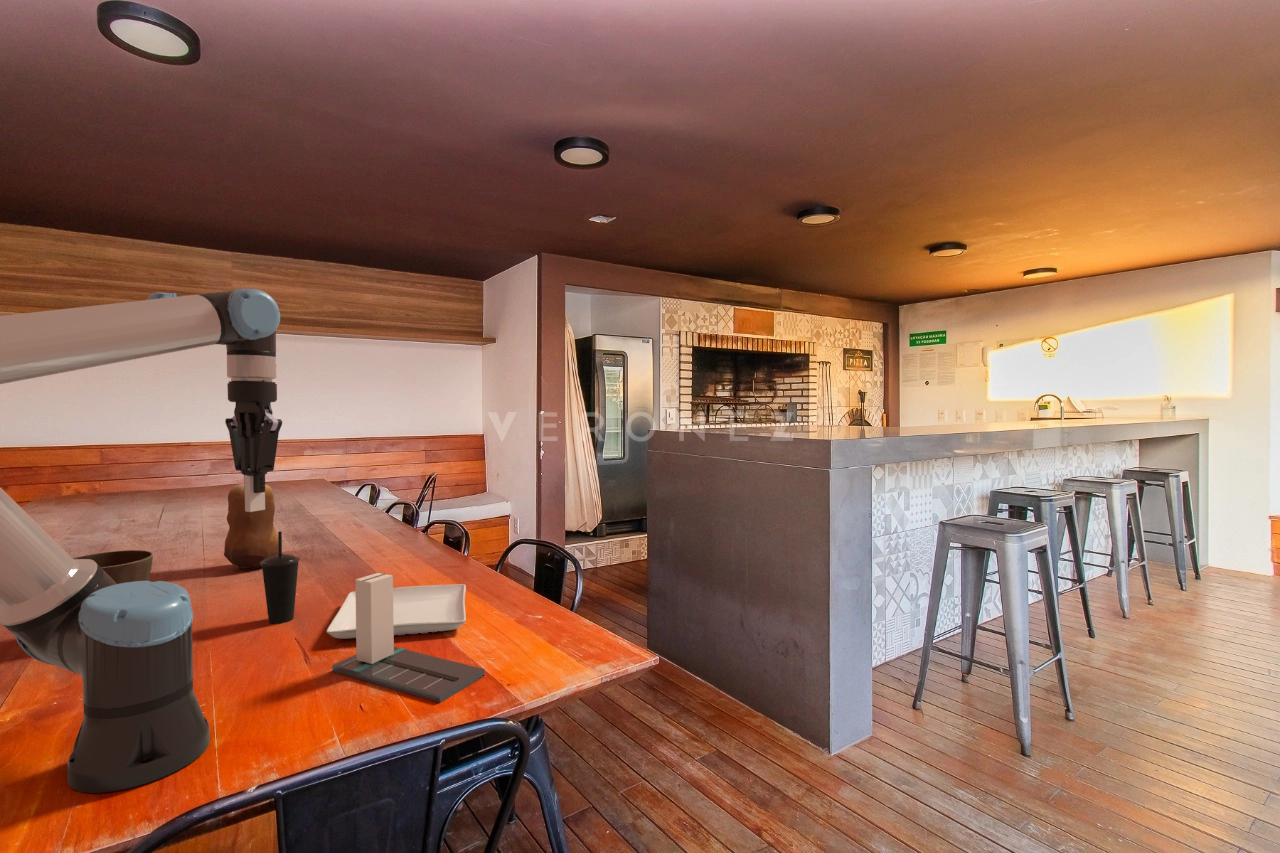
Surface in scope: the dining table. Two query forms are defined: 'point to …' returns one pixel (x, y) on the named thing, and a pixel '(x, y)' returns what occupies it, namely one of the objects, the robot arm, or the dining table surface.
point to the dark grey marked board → (413, 673)
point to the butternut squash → (250, 530)
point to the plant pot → (124, 564)
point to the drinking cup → (280, 584)
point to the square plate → (411, 611)
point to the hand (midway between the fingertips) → (255, 510)
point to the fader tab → (374, 617)
